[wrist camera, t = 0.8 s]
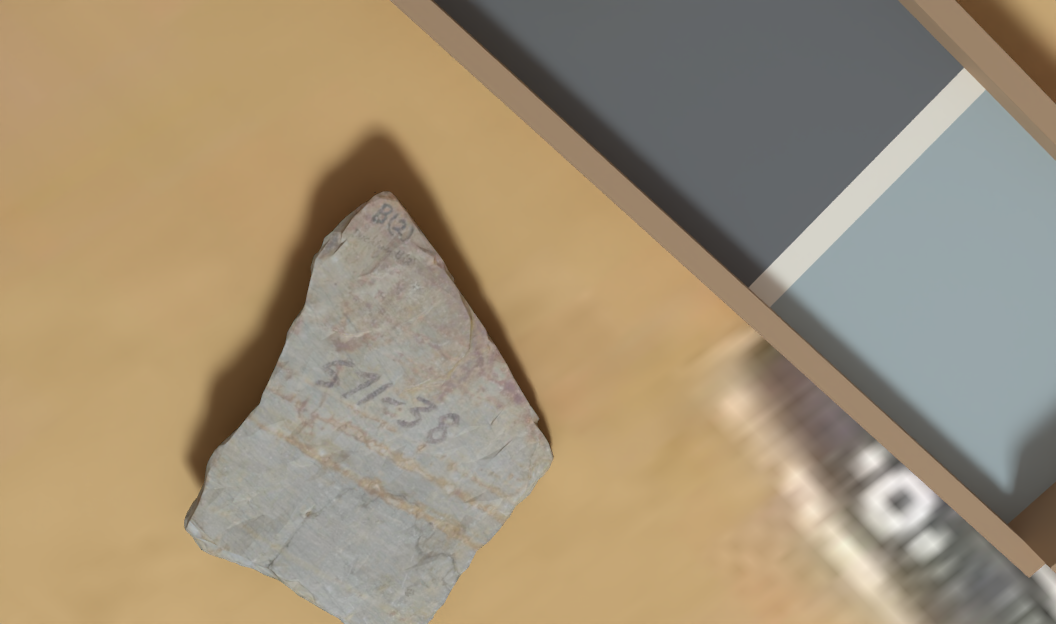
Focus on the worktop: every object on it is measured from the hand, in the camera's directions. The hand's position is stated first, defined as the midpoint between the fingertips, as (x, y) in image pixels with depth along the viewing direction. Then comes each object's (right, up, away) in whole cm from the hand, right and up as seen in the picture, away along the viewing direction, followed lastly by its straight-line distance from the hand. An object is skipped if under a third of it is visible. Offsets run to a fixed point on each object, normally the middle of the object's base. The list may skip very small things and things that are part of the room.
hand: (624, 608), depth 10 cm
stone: (-7, -1, +26) cm, 27 cm away
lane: (+8, +9, +22) cm, 25 cm away
